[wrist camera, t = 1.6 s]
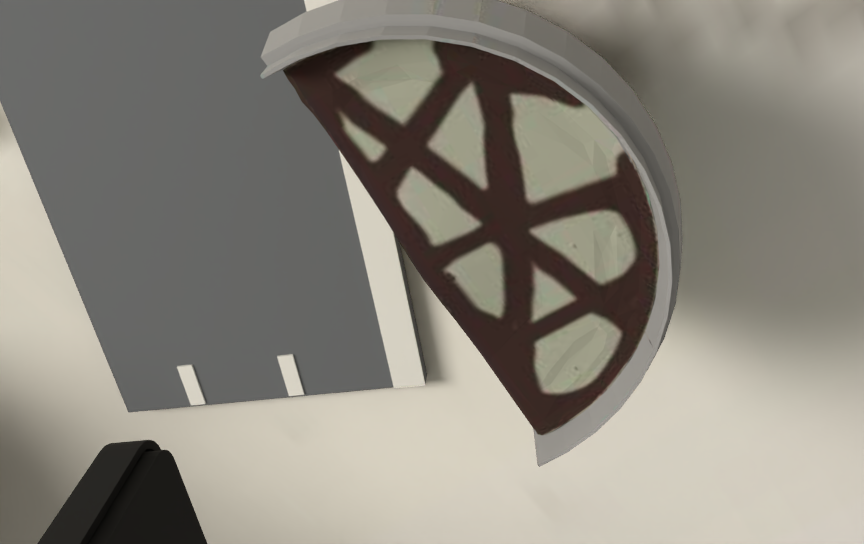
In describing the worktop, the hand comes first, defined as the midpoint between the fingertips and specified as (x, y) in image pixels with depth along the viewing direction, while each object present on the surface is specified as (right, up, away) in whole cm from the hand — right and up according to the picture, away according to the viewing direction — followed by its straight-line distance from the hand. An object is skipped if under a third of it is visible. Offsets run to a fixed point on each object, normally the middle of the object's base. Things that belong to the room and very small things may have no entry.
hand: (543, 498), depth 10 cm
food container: (+2, +8, +16) cm, 18 cm away
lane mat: (-9, +6, +18) cm, 21 cm away
